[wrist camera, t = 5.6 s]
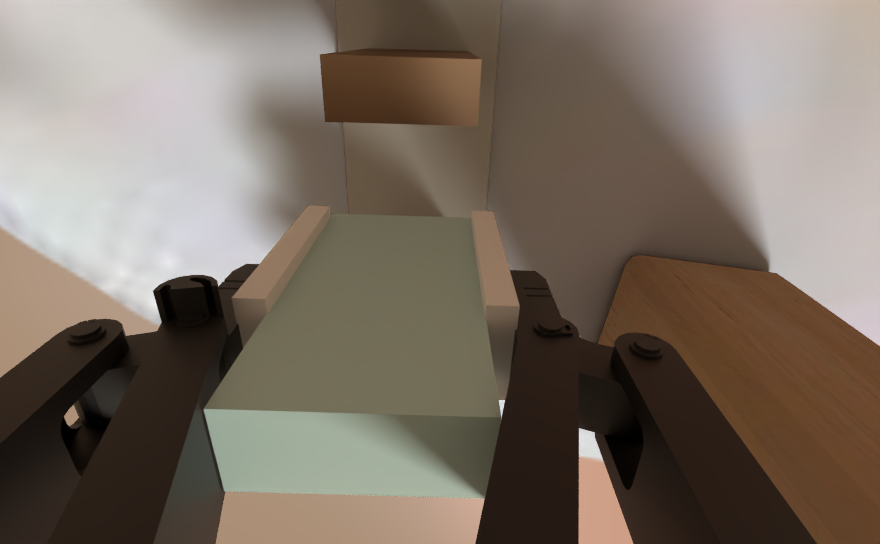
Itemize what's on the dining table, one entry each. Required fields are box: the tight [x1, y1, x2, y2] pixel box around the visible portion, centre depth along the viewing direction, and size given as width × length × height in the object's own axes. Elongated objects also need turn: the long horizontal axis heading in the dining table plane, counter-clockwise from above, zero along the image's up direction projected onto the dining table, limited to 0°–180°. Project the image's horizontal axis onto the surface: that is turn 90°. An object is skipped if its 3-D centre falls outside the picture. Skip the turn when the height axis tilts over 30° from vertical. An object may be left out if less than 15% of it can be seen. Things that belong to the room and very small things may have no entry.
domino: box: [320, 48, 482, 126], centre depth 19 cm, size 2×5×10 cm, turn 88°
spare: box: [204, 214, 501, 499], centre depth 13 cm, size 2×5×10 cm, turn 89°
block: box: [598, 255, 880, 544], centre depth 22 cm, size 10×10×20 cm
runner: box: [335, 0, 502, 218], centre depth 26 cm, size 28×8×1 cm, turn 178°
